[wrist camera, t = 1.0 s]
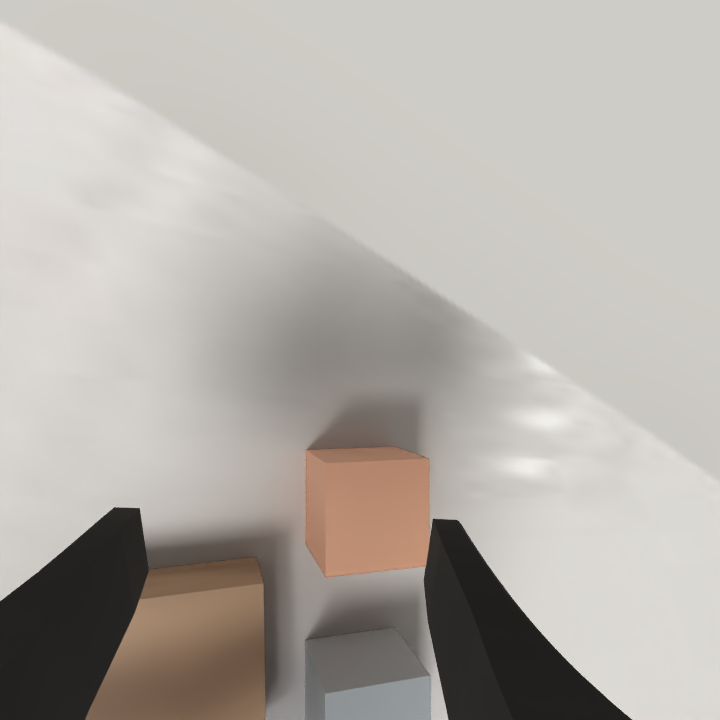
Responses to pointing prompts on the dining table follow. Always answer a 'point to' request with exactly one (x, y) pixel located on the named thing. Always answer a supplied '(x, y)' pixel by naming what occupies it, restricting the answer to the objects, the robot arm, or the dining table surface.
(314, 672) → the slate grey block
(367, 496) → the terracotta block
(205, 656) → the walnut base block
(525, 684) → the robot arm
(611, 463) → the dining table surface
